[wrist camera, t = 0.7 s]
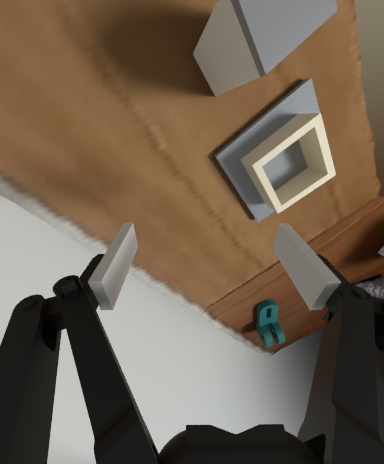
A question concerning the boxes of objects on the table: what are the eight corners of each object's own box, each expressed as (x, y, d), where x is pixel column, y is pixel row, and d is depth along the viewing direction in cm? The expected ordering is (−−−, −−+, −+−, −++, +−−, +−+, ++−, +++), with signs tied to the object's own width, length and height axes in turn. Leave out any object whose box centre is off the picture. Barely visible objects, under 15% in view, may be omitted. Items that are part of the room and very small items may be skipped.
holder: (213, 155, 32) (224, 162, 27) (304, 79, 28) (338, 69, 23) (255, 219, 41) (269, 234, 36) (328, 169, 37) (357, 177, 32)
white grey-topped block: (192, 54, 25) (229, -25, 11) (227, 17, 23) (316, -121, 10) (215, 96, 28) (265, 74, 14) (247, 66, 26) (337, 10, 13)
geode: (328, 306, 69) (351, 330, 60) (329, 285, 64) (353, 308, 55) (382, 291, 67) (413, 314, 58) (386, 269, 62) (421, 289, 53)
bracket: (272, 324, 70) (284, 345, 63) (256, 328, 70) (266, 350, 63) (275, 297, 60) (290, 318, 54) (256, 301, 60) (268, 324, 53)
